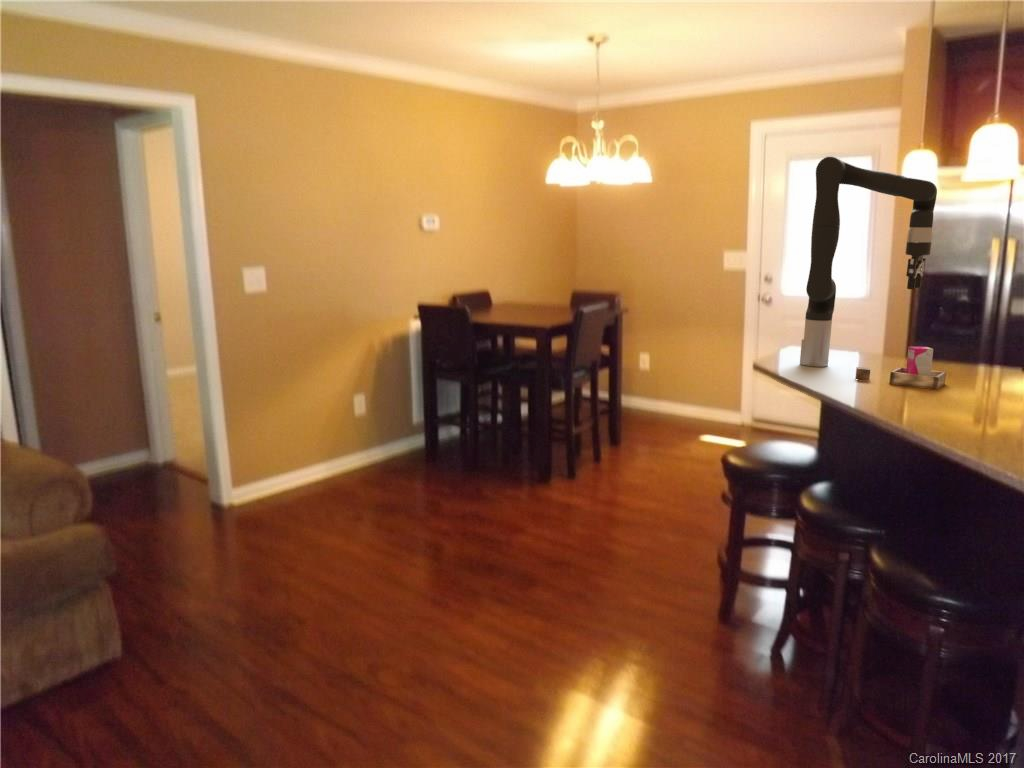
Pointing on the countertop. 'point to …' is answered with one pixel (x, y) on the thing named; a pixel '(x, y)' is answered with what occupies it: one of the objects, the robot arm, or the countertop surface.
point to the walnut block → (862, 373)
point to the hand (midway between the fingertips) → (913, 288)
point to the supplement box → (919, 361)
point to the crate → (917, 379)
